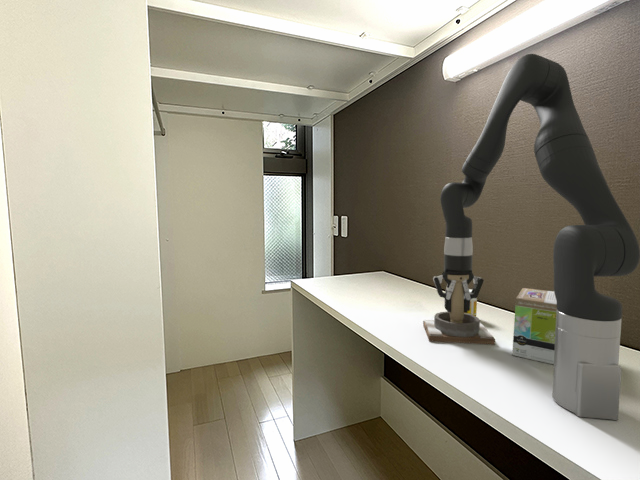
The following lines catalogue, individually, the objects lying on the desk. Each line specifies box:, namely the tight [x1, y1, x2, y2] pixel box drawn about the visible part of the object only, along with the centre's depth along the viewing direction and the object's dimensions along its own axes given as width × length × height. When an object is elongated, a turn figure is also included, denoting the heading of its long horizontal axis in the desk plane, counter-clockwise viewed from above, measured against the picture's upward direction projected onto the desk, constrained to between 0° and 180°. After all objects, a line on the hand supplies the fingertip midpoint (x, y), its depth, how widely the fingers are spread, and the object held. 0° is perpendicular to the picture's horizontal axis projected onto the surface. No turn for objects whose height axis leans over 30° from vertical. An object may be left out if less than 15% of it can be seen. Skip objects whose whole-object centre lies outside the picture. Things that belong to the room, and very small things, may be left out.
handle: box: [448, 275, 469, 323], centre depth 97 cm, size 5×6×15 cm
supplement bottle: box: [467, 288, 478, 317], centre depth 112 cm, size 5×5×10 cm
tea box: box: [512, 287, 557, 365], centre depth 86 cm, size 15×10×15 cm
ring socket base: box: [422, 311, 496, 345], centre depth 98 cm, size 13×17×5 cm
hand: (456, 311), depth 98 cm, fingers closed on handle, 4 cm apart
